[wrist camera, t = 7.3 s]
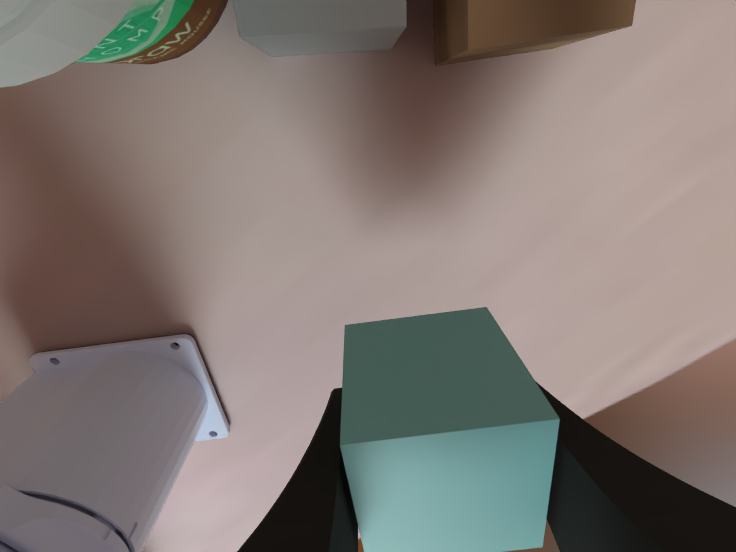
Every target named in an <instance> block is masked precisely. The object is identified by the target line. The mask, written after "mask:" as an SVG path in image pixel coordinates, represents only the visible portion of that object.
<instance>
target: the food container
mask: <svg viewBox="0 0 736 552" xmlns="http://www.w3.org/2000/svg"><path fill="white" fill-rule="evenodd" d="M227 2H228V0H0V88H1V87H10V86H18V85H21V84H24V83H27V82H30V81H33V80H36V79H39V78H42V77H45V76H48V75H51V74H54V73H56V72H58V71H59V70H61V69H63V68H65V67H66V66H68V65H70V64H71V63H73V62H91V63H127V64H155V63H159V62H163V61H166V60H170V59H174V58H178V57H180V56H182V55H183V54H185V53H187V52H189V51H191V50H192V49H194V48H195V47H196V46H197V45H198V44H200V43H201V42H202V41H203V40H204V39H205V38H206V37H207V36H208V35H209V33H210V32H211V31H212V29H213V28H214V27H215V26H216V24H217V23H218V21H219V19H220V17H221V15H222V13H223V11H224V9H225V7H226V5H227Z"/></svg>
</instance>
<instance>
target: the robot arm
mask: <svg viewBox="0 0 736 552" xmlns="http://www.w3.org/2000/svg"><path fill="white" fill-rule="evenodd" d="M173 342H176V343H178V344H179V345H180V346H177V345H175V344H174V343H173ZM57 359H58V360H57ZM29 363H30V365H31V367H32V368H33V370H34V371H35V373H34V374H33V375H32V376H31V377H30V378H28V379H27V380H26V381H25V382H24V383H22V384H21V385H20V386H19V387H18V388H16V389H15V390H14V391H13V392H12V393H10V394H9V395H8V396H7V397H6V398H4V399H3V400H2V401H1V402H0V552H142V550H143V548H144V546H145V543H146V541H147V539H148V537H149V535H150V533H151V531H152V529H153V527H154V525H155V523H156V520H157V518H158V516H159V514H160V512H161V510H162V508H163V506H164V504H165V502H166V499H167V497H168V495H169V493H170V491H171V489H172V487H173V485H174V483H175V481H176V478H177V476H178V474H179V472H180V470H181V468H182V466H183V464H184V462H185V460H186V457H187V455H188V453H189V451H190V449H191V447H192V445H193V443H194V441H202V440H210V439H218V438H225V437H227V436H228V435H229V432H230V426H229V424H228V421H227V419H226V417H225V414H224V412H223V409H222V407H221V404H220V402H219V399H218V397H217V394H216V392H215V389H214V387H213V384H212V382H211V379H210V377H209V374H208V372H207V369H206V367H205V365H204V362H203V360H202V357H201V355H200V352H199V350H198V347H197V345H196V342H195V340H194V338H193V337H191V336H190V335H187V334H181V335H173V336H165V337H158V338H150V339H142V340H134V341H126V342H119V343H111V344H103V345H95V346H87V347H80V348H72V349H64V350H56V351H48V352H41V353H36V354H34V355H33V356H32V357H31V358H30V359H29ZM535 382H536V381H535ZM536 383H537V382H536ZM537 385H538V386H539V388H540V389H541V391H542V392H543V394H544V396H545V397H546V399H547V400H548V402H549V403H550V405H551V406H552V408H553V409H554V411H555V412H556V414H557V415H558V417H559V418H560V422H559V429H558V437H557V444H556V451H555V459H554V466H553V473H552V481H551V488H550V495H549V503H548V510H547V517H546V518H547V521H548V523H549V525H550V527H551V530H552V533H553V535H554V538H555V540H556V543H557V545H558V548H559V550H560V552H736V507H733V506H732V505H730V504H728V503H725V502H723V501H721V500H719V499H717V498H715V497H713V496H711V495H709V494H707V493H705V492H703V491H700V490H698V489H697V488H695V487H693V486H691V485H689V484H687V483H685V482H683V481H681V480H679V479H677V478H676V477H674V476H672V475H670V474H668V473H667V472H665V471H663V470H661V469H659V468H658V467H656V466H654V465H652V464H650V463H649V462H647V461H645V460H643V459H642V458H640V457H638V456H637V455H635V454H633V453H632V452H630V451H629V450H627V449H626V448H624V447H622V446H621V445H619V444H618V443H616V442H614V441H613V440H611V439H610V438H609V437H607V436H605V435H604V434H603V433H601V432H600V431H598V430H597V429H595V428H594V427H593V426H591V425H590V424H588V423H587V422H585V421H584V420H583V419H582V418H580V417H579V416H578V415H576V414H575V413H574V412H573V411H571V410H570V409H569V408H567V407H566V406H565V405H564V404H562V403H561V402H560V401H559V400H557V399H556V398H555V397H554V396H552V395H551V394H550V393H549V392H548V391H546V390H545V389H544V388H543V387H542V386H540V385H539V384H538V383H537ZM341 407H342V388H336V389H334V390H333V391H332V392H331V395H330V398H329V401H328V404H327V407H326V409H325V412H324V414H323V417H322V419H321V421H320V424H319V426H318V428H317V430H316V432H315V434H314V436H313V439H312V441H311V443H310V445H309V447H308V448H307V450H306V452H305V454H304V456H303V458H302V460H301V462H300V463H299V465H298V467H297V469H296V470H295V472H294V474H293V476H292V477H291V479H290V480H289V482H288V484H287V485H286V487H285V488H284V490H283V491H282V493H281V495H280V496H279V497H278V499H277V500H276V502H275V503H274V505H273V506H272V508H271V509H270V510H269V512H268V513H267V515H266V516H265V517H264V519H263V520H262V521H261V523H260V524H259V525H258V527H257V528H256V529H255V530H254V532H253V533H252V534H251V535H250V537H249V538H248V539H247V540H246V542H245V543H244V544H243V545H242V547H241V548H240V549H239V550H238V551H237V552H358V522H357V518H356V513H355V509H354V505H353V500H352V496H351V491H350V487H349V483H348V478H347V474H346V470H345V465H344V461H343V457H342V452H341V448H340V431H341ZM214 431H215V432H214Z"/></svg>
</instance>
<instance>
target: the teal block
mask: <svg viewBox="0 0 736 552" xmlns="http://www.w3.org/2000/svg"><path fill="white" fill-rule="evenodd" d="M559 422H560V418H559V417H558V415H557V414H556V412H555V411H554V409H553V408H552V406H551V405H550V403H549V402H548V400H547V399H546V397H545V396H544V394H543V392H542V391H541V389H540V388H539V386H538V385H537V383H536V382H535V380H534V379H533V377H532V376H531V374H530V373H529V371H528V370H527V368H526V367H525V365H524V364H523V362H522V360H521V359H520V357H519V356H518V354H517V353H516V351H515V350H514V348H513V347H512V345H511V344H510V342H509V341H508V339H507V338H506V336H505V335H504V333H503V332H502V330H501V328H500V327H499V325H498V324H497V322H496V321H495V319H494V318H493V316H492V315H491V313H490V312H489V310H488V309H487V307H483V308H475V309H468V310H460V311H452V312H444V313H436V314H428V315H421V316H413V317H405V318H397V319H389V320H381V321H374V322H366V323H358V324H350V325H345V336H344V360H343V383H342V407H341V431H340V448H341V452H342V457H343V461H344V465H345V470H346V474H347V478H348V483H349V487H350V491H351V496H352V500H353V505H354V509H355V513H356V518H357V522H358V526H359V531H360V535H361V539H362V543H363V548H364V552H503V551H512V550H521V549H529V548H538V547H543V539H544V532H545V524H546V517H547V510H548V503H549V495H550V488H551V481H552V473H553V466H554V459H555V451H556V444H557V437H558V429H559Z"/></svg>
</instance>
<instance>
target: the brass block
mask: <svg viewBox="0 0 736 552" xmlns="http://www.w3.org/2000/svg"><path fill="white" fill-rule="evenodd" d="M635 3H636V0H433V21H434V44H435V66H436V65H443V64H450V63H457V62H464V61H471V60H478V59H485V58H492V57H498V56H505V55H512V54H519V53H526V52H533V51H540V50H547V49H553V48H556V47H560V46H563V45H567V44H570V43H574V42H577V41H581V40H584V39H587V38H591V37H594V36H598V35H601V34H605V33H608V32H612V31H615V30H619V29H622V28H626V27H629V26H632V22H633V16H634V9H635Z"/></svg>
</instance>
